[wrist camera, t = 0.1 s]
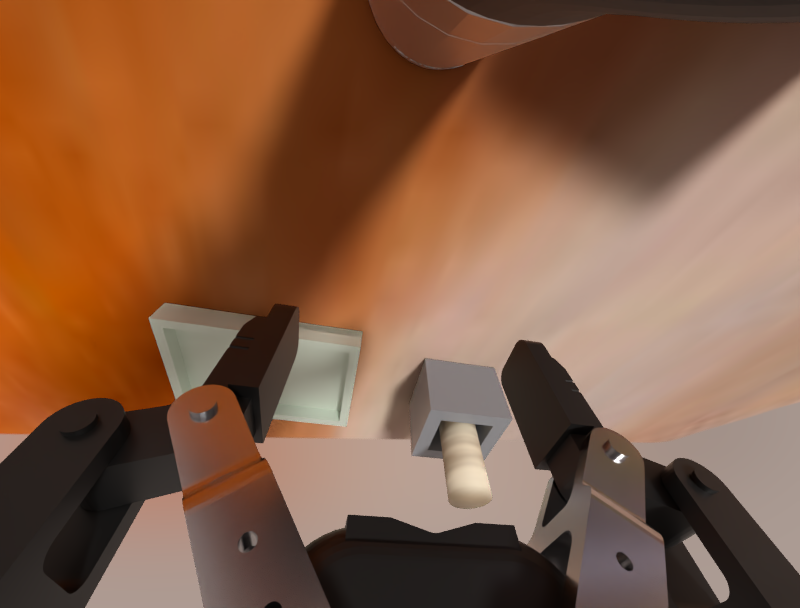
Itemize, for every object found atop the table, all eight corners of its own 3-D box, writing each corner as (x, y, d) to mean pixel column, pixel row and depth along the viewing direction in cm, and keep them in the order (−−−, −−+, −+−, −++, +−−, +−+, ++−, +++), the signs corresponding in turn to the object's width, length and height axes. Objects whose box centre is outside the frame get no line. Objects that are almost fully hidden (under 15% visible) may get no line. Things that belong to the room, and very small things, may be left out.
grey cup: (425, 358, 36) (430, 409, 30) (494, 367, 37) (512, 419, 31) (409, 404, 41) (411, 455, 35) (470, 411, 42) (482, 462, 36)
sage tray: (164, 302, 31) (148, 318, 29) (362, 331, 33) (360, 347, 31) (190, 392, 39) (178, 409, 37) (348, 409, 41) (346, 426, 39)
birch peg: (438, 374, 37) (456, 487, 27) (469, 378, 38) (499, 491, 27) (430, 394, 40) (443, 507, 29) (459, 398, 40) (483, 510, 30)
